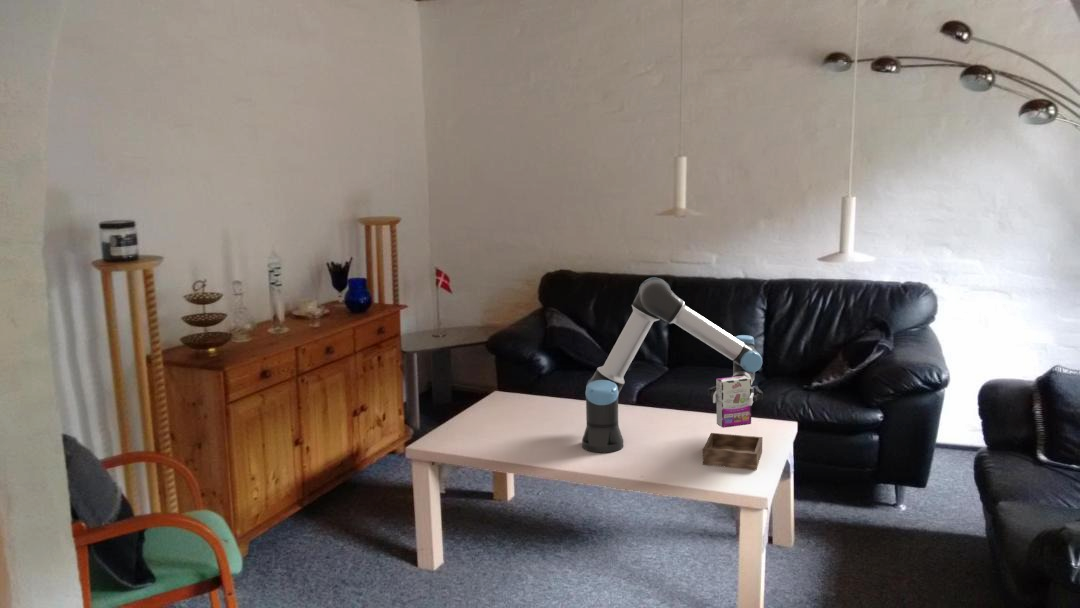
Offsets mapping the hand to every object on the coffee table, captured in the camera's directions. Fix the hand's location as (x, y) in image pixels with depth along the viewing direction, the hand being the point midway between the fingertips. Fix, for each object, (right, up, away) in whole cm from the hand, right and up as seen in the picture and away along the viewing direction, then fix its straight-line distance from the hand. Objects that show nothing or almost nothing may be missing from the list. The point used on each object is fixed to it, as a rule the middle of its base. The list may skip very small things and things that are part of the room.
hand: (732, 400), depth 293 cm
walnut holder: (+2, -21, +7) cm, 22 cm away
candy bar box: (+2, -9, +5) cm, 11 cm away
